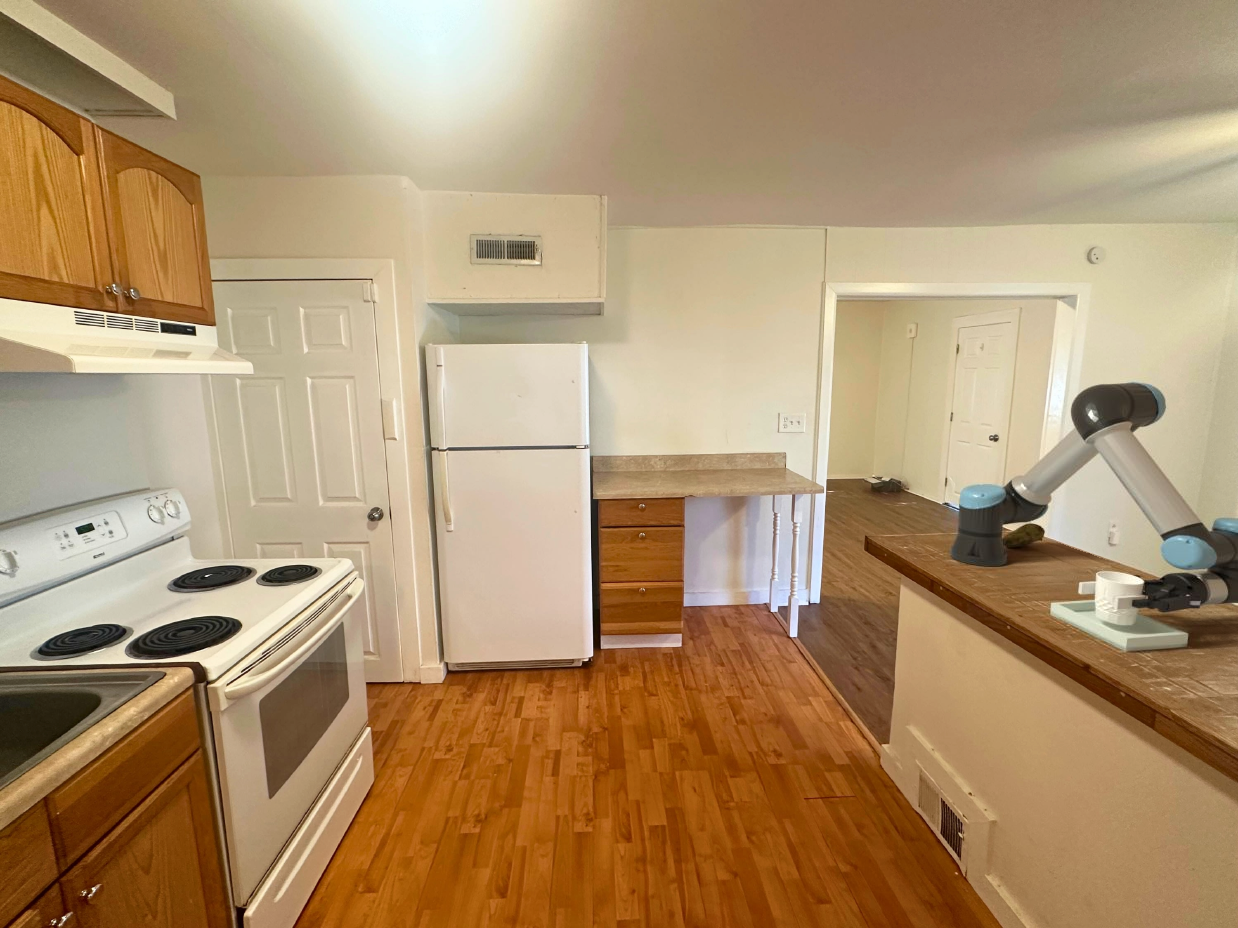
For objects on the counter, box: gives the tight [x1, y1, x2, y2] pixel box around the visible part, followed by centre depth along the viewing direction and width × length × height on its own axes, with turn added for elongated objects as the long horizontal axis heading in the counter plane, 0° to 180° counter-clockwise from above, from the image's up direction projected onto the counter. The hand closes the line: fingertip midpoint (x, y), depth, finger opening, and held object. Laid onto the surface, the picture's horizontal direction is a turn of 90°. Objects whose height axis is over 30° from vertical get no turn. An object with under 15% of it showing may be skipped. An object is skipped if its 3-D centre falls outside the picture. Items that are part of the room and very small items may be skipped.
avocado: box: [1002, 522, 1046, 549], centre depth 176 cm, size 8×13×8 cm, turn 76°
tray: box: [1049, 599, 1189, 653], centre depth 120 cm, size 18×14×3 cm
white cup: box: [1094, 570, 1144, 625], centre depth 119 cm, size 8×8×10 cm
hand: (1097, 595), depth 118 cm, fingers closed on white cup, 7 cm apart
